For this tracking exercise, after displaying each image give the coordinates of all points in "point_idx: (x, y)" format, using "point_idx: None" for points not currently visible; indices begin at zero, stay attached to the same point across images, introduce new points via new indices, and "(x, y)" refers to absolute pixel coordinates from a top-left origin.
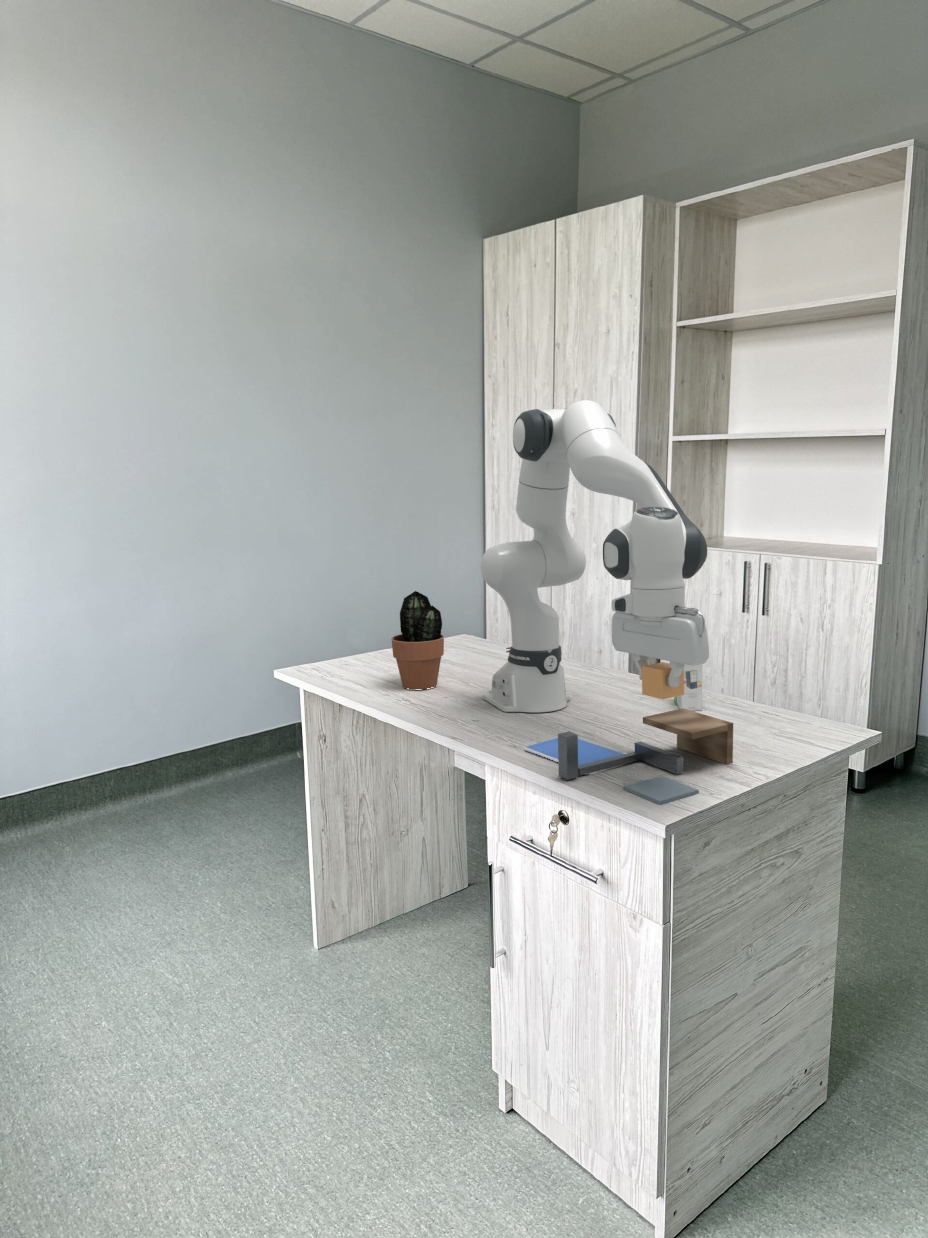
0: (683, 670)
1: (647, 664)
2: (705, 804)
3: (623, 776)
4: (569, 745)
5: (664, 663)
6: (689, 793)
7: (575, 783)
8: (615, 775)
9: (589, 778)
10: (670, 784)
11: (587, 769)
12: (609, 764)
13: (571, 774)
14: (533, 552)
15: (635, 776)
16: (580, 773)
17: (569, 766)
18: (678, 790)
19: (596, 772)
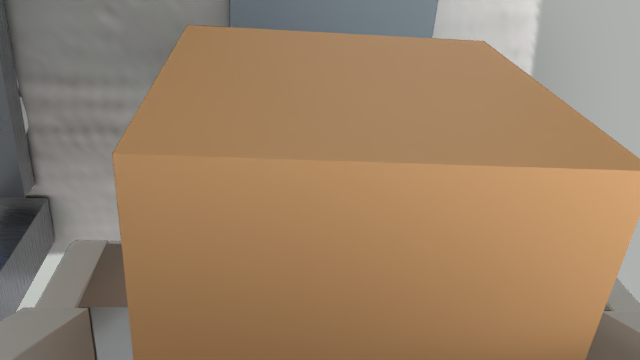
0: (611, 148)
1: (23, 356)
2: (516, 30)
3: (116, 49)
4: (4, 316)
5: (227, 218)
6: (434, 15)
7: (84, 226)
8: (88, 66)
9: (64, 161)
10: (331, 6)
11: (23, 158)
12: (3, 43)
13: (46, 234)
14: None
15: (143, 11)
16: (30, 184)
17: (35, 259)
18: (393, 31)
19: (22, 105)
